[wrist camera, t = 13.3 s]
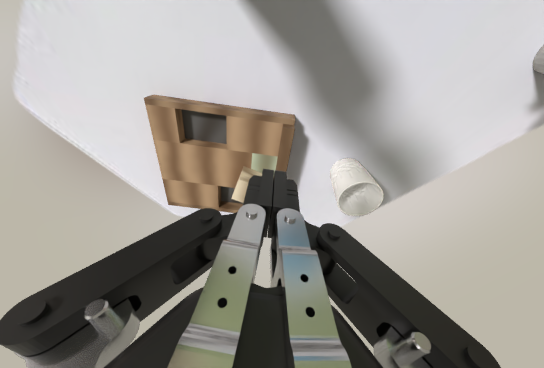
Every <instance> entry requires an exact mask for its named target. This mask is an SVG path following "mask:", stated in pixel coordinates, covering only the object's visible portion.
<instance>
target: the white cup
mask: <svg viewBox="0 0 544 368" xmlns="http://www.w3.org/2000/svg"><path fill="white" fill-rule="evenodd" d="M330 178H331V182H332V186H333V191H334V194H335V198H336V201H337V205H338V208H339V209H340V211H341V212H343V213H344V214H346V215H350V216H362V215H366V214H368V213H371V212H373V211H374V210H376V209H377V208H378V207H379V206H380V204H381V203H382V201H383V198H384V193H383V190H382V188H381V187H380V186H379V185H378V183H377V182H376V181H375V180H374V179H373V177H372V176H371V175H370V174H369V173H368V171H367V170H366V169H365V168H364V167H363V166H362V165H361V164H360V163H359V161H357V160H355V159H353V158H344V159H341V160H339V161H337V162H336V163H335V164H334V165H333V166H332V168H331V170H330Z"/></svg>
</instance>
